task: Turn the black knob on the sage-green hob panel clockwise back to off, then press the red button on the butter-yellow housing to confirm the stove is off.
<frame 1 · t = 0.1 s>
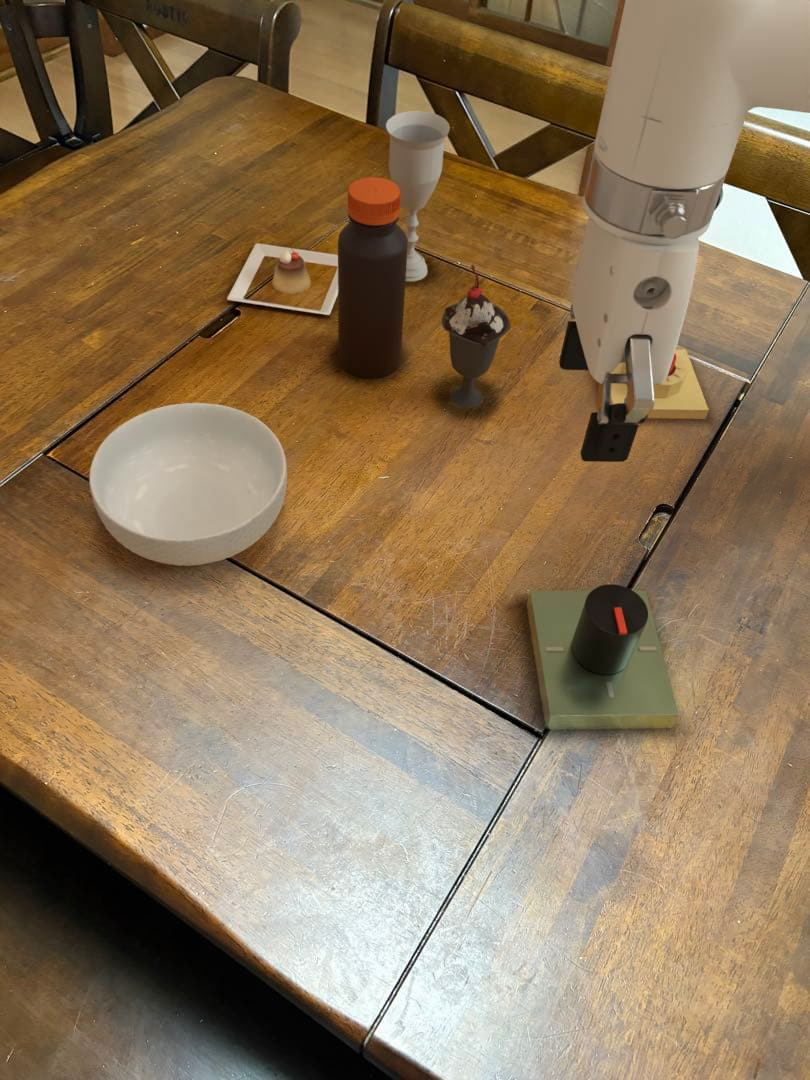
hand: (590, 410, 66), 20 cm above the table, tool pointing down, fingers open, 9 cm apart
sundae: (465, 401, 96), on the table
off button: (657, 361, 96), point 4 cm above the table, slide at 0.1 cm
hob knob: (609, 628, 71), point 5 cm above the table, hinge at 90.0°
off switch: (647, 390, 99), on the table
hob panel: (594, 666, 75), on the table
bottle: (369, 363, 100), on the table
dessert: (291, 287, 108), on the table
cereal bowl: (198, 521, 84), on the table
chalice: (408, 275, 111), on the table
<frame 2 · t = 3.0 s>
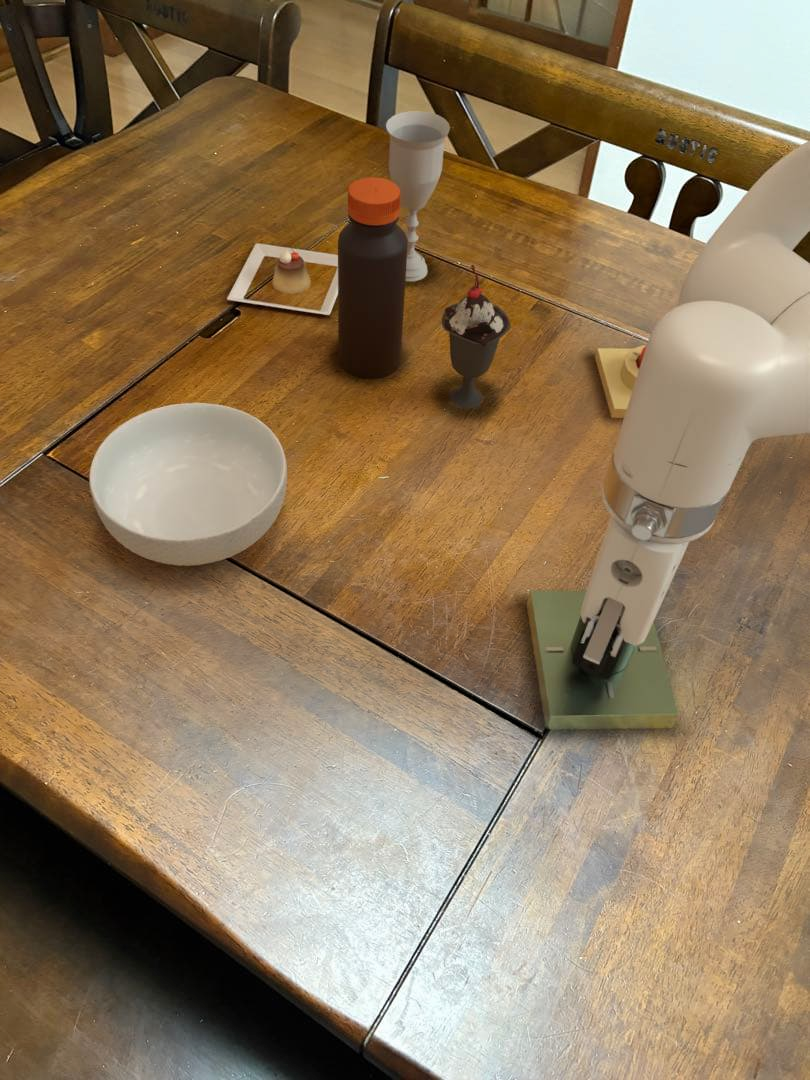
hand: (603, 641, 73), 4 cm above the table, tool pointing down, fingers closed on hob knob, 4 cm apart
hob knob: (609, 628, 71), point 5 cm above the table, hinge at 89.8°, touching gripper
everything else where it was.
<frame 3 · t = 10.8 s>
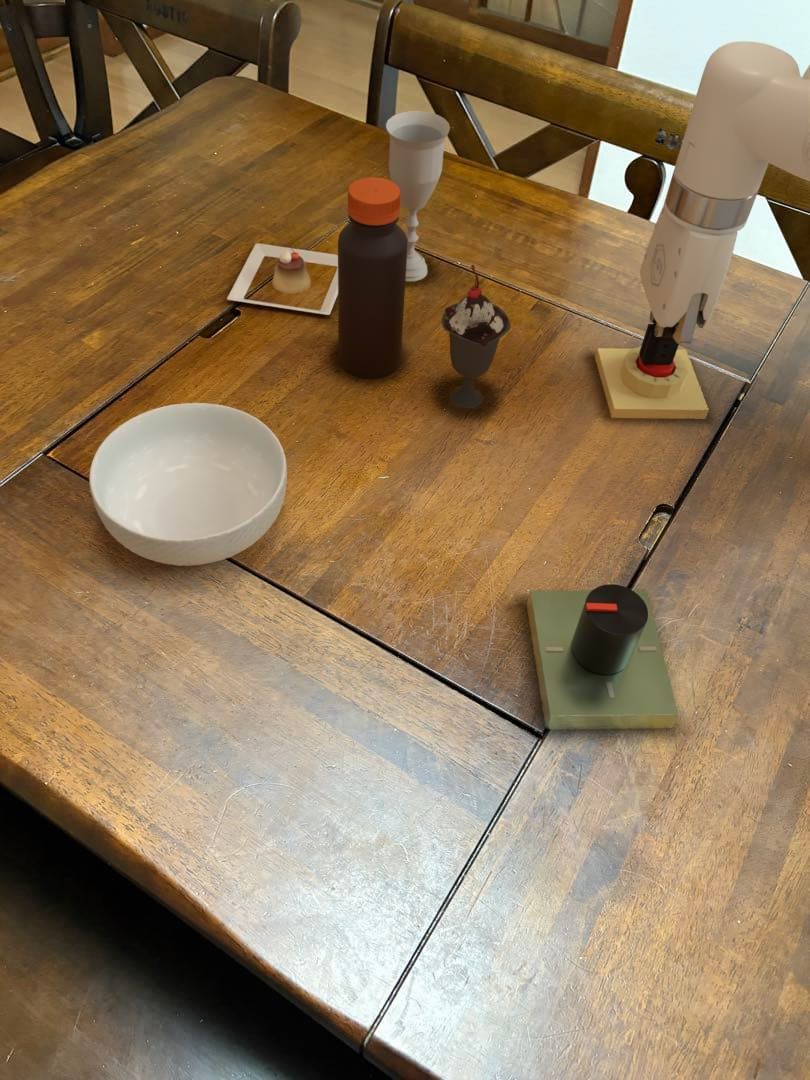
hand: (654, 359, 96), 4 cm above the table, tool pointing down, fingers closed
off button: (654, 367, 96), point 3 cm above the table, slide at -0.8 cm, touching gripper
hob knob: (609, 628, 71), point 5 cm above the table, hinge at -2.7°
everything else where it was.
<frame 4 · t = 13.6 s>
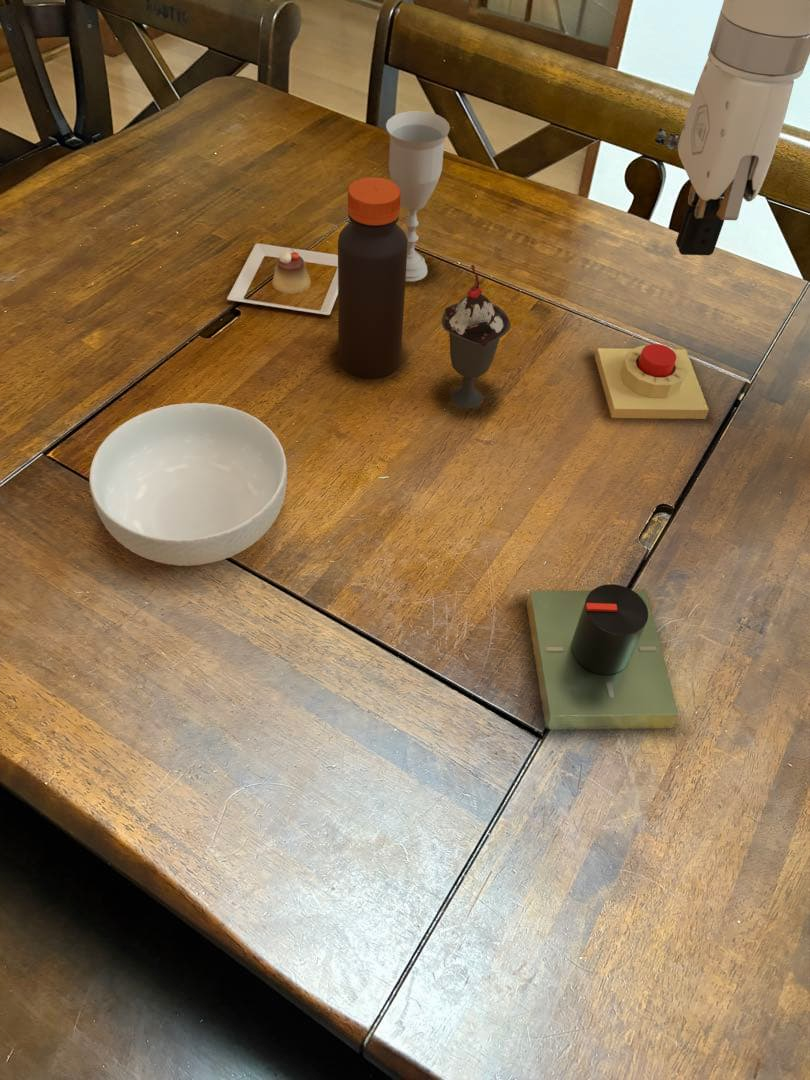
hand: (693, 249, 86), 17 cm above the table, tool pointing down, fingers closed
off button: (657, 361, 96), point 4 cm above the table, slide at 0.1 cm
everything else where it was.
at the end: hob knob at -3° (first picture: +90°); off button pushed in 1.1 cm at the most during the clip, back to where it started at the end; off button slide at 0.1 cm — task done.
